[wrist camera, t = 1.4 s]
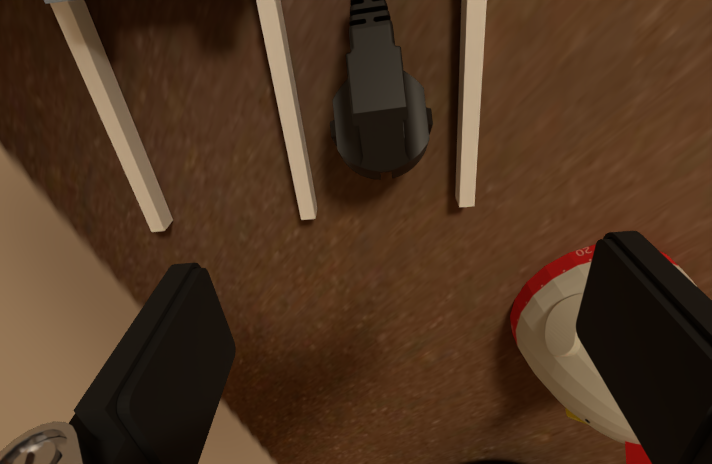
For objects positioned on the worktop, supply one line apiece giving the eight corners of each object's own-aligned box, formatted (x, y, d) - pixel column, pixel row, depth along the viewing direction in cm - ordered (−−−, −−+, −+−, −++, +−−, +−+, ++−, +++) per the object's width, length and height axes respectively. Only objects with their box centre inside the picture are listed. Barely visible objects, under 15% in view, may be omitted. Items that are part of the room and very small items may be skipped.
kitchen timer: (477, 312, 35) (539, 503, 23) (624, 209, 30) (818, 387, 17) (569, 382, 40) (664, 571, 27) (712, 304, 34) (915, 498, 22)
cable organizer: (44, -52, 22) (-15, -57, 18) (485, -111, 20) (510, -129, 17) (160, 221, 31) (135, 252, 27) (469, 196, 29) (483, 225, 26)
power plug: (416, -88, 20) (444, 154, 19) (410, 5, 27) (430, 181, 27) (303, -68, 20) (326, 168, 20) (328, 17, 28) (345, 191, 27)
